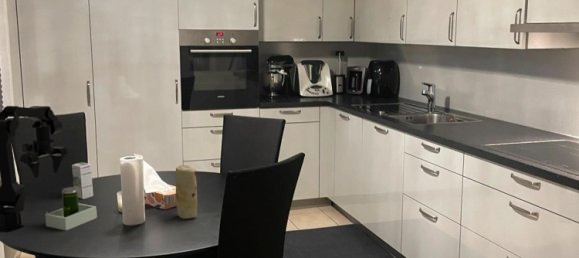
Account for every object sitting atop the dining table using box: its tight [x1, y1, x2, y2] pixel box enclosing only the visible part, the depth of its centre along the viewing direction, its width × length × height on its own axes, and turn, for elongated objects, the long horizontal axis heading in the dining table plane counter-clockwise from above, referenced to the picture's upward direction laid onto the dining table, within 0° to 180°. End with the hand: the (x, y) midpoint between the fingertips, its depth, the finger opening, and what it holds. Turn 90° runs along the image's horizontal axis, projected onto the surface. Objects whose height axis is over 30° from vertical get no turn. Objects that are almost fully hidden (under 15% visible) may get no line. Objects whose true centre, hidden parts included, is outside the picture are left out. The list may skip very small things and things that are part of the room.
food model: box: [175, 164, 198, 220], centre depth 212 cm, size 10×7×20 cm
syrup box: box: [71, 161, 94, 200], centre depth 237 cm, size 6×6×14 cm
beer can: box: [61, 186, 79, 217], centre depth 206 cm, size 5×5×12 cm
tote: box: [44, 202, 98, 231], centre depth 207 cm, size 15×10×4 cm, turn 155°
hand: (46, 175), depth 223 cm, fingers open, 9 cm apart
